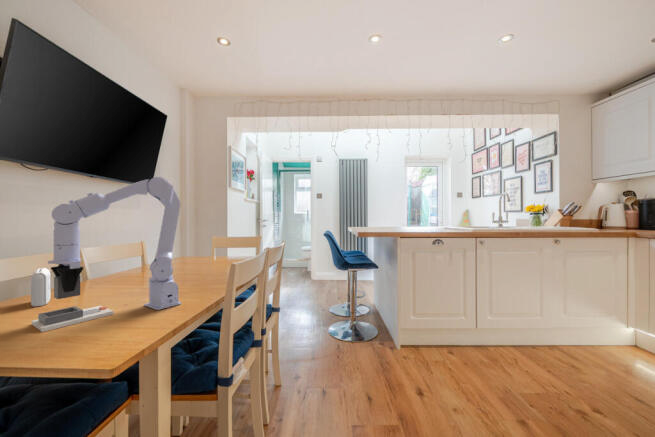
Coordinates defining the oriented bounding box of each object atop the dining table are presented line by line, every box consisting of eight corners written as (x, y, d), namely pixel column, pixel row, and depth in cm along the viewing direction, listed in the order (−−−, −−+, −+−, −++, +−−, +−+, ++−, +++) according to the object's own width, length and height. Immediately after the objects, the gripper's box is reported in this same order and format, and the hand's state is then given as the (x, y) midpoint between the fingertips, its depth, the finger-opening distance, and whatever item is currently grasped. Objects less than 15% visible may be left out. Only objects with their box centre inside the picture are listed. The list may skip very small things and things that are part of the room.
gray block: (80, 295, 83) (80, 275, 83) (57, 299, 79) (57, 278, 79) (76, 293, 85) (76, 274, 85) (53, 297, 81) (53, 276, 81)
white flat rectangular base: (113, 314, 87) (113, 304, 87) (41, 332, 73) (41, 320, 73) (100, 308, 92) (100, 299, 92) (31, 324, 79) (31, 313, 79)
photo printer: (35, 300, 100) (34, 267, 100) (51, 298, 103) (51, 265, 103) (29, 308, 92) (29, 271, 92) (47, 305, 95) (47, 269, 95)
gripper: (41, 244, 83) (41, 289, 83) (56, 247, 75) (56, 297, 75) (72, 242, 89) (72, 284, 89) (89, 245, 81) (89, 291, 81)
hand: (67, 290), depth 82 cm, fingers closed on gray block, 4 cm apart
